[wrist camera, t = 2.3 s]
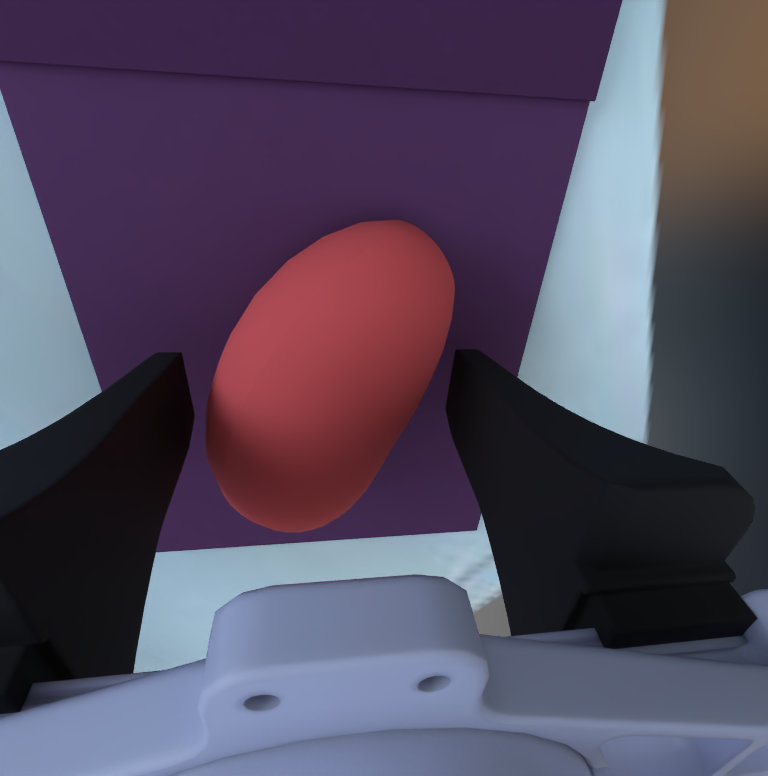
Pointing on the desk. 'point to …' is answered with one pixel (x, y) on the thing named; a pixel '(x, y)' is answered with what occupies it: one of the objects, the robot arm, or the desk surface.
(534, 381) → the desk surface
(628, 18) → the desk surface
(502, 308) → the cloth
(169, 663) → the desk surface
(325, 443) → the red oval piece
